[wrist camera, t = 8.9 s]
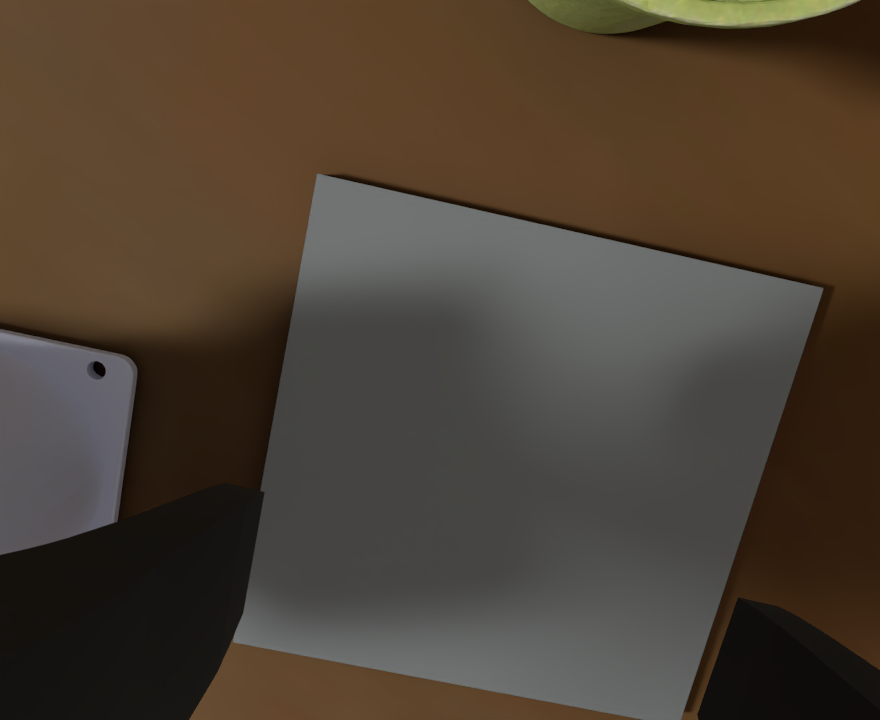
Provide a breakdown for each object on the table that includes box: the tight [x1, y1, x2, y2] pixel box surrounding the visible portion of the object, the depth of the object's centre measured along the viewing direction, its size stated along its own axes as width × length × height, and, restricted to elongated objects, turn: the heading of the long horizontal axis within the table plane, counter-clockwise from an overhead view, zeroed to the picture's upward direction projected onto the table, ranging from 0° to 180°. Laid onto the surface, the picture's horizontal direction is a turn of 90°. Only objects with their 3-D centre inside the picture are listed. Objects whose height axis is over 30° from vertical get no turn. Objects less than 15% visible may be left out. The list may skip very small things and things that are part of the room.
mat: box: [233, 174, 824, 720], centre depth 21 cm, size 14×14×1 cm
